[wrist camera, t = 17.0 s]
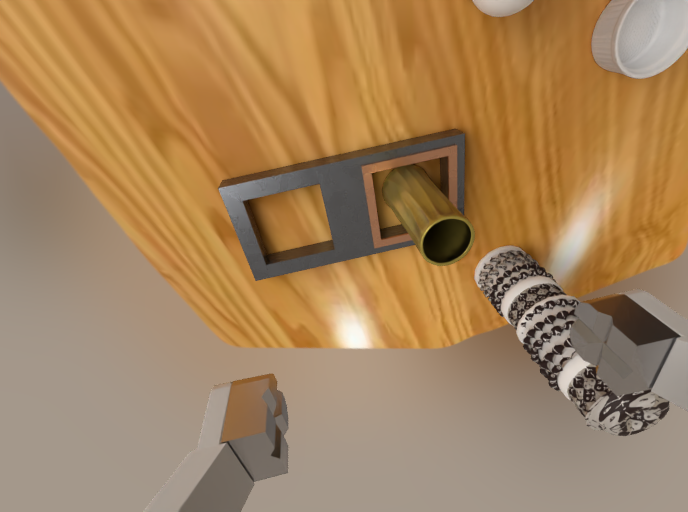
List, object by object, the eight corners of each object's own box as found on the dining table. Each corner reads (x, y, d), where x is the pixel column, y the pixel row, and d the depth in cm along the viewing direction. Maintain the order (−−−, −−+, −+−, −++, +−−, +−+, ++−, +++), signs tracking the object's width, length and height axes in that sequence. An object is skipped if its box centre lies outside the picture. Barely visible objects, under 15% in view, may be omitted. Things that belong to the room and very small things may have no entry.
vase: (394, 218, 46) (430, 280, 34) (373, 180, 43) (404, 233, 30) (436, 194, 45) (488, 249, 32) (417, 154, 42) (467, 198, 29)
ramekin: (578, 12, 36) (610, 9, 32) (664, -45, 34) (709, -55, 31) (591, 91, 40) (621, 96, 37) (668, 44, 39) (707, 45, 35)
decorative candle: (480, 243, 50) (620, 391, 29) (538, 242, 51) (712, 384, 30) (464, 293, 54) (574, 452, 33) (518, 292, 56) (656, 443, 35)
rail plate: (222, 180, 40) (217, 189, 38) (455, 128, 40) (465, 134, 38) (257, 270, 47) (255, 282, 45) (456, 225, 48) (464, 234, 45)
